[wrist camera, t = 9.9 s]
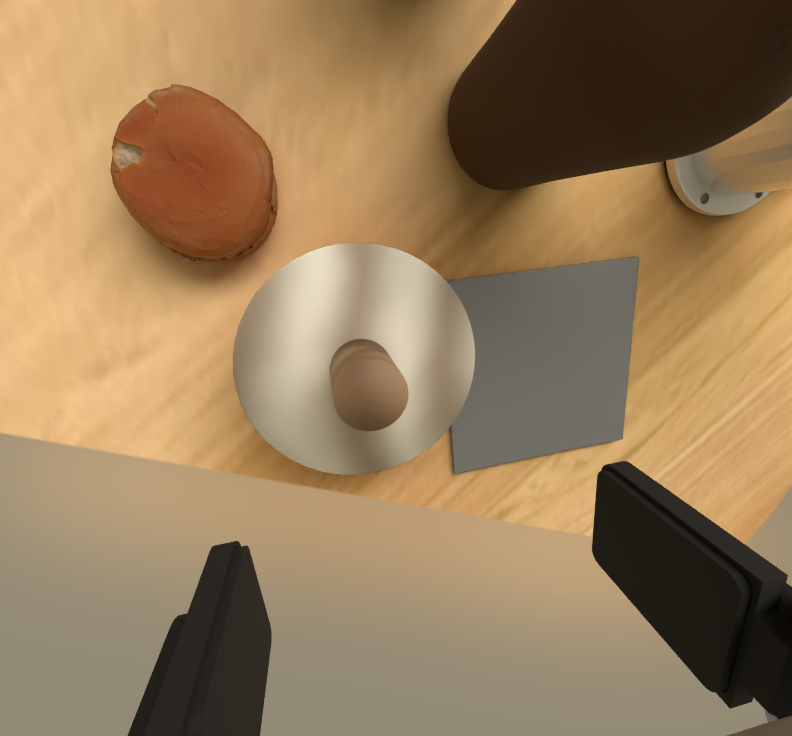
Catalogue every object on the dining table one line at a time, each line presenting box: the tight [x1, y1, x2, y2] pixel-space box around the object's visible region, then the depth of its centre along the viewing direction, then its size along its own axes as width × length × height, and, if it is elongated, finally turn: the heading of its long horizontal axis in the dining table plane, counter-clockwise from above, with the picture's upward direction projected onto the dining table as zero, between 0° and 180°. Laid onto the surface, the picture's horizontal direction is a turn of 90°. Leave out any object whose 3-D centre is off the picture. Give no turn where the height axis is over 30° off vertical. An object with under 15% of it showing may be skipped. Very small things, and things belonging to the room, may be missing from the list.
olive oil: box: [448, 0, 792, 190], centre depth 18 cm, size 11×11×25 cm
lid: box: [233, 243, 475, 475], centre depth 24 cm, size 16×16×6 cm
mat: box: [447, 257, 639, 474], centre depth 36 cm, size 18×18×1 cm
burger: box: [111, 85, 277, 262], centre depth 25 cm, size 10×9×5 cm
